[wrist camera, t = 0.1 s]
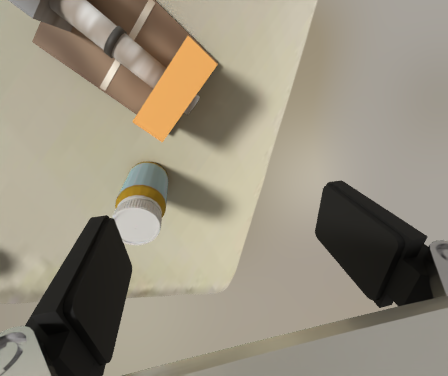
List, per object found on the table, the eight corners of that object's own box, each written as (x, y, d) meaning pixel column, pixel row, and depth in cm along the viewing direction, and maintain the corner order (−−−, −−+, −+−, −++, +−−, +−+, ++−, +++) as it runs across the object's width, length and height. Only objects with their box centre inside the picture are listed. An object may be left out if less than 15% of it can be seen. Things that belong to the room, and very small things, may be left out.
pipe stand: (85, -66, 25) (39, -135, 17) (216, 62, 34) (229, 60, 25) (37, 42, 29) (-20, 31, 20) (166, 133, 37) (163, 151, 29)
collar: (185, 44, 30) (188, 35, 22) (208, 66, 31) (217, 64, 24) (143, 109, 33) (132, 121, 25) (166, 126, 34) (162, 142, 26)
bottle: (158, 155, 39) (149, 196, 26) (174, 186, 42) (172, 237, 29) (122, 167, 39) (94, 216, 26) (140, 198, 42) (124, 254, 29)
